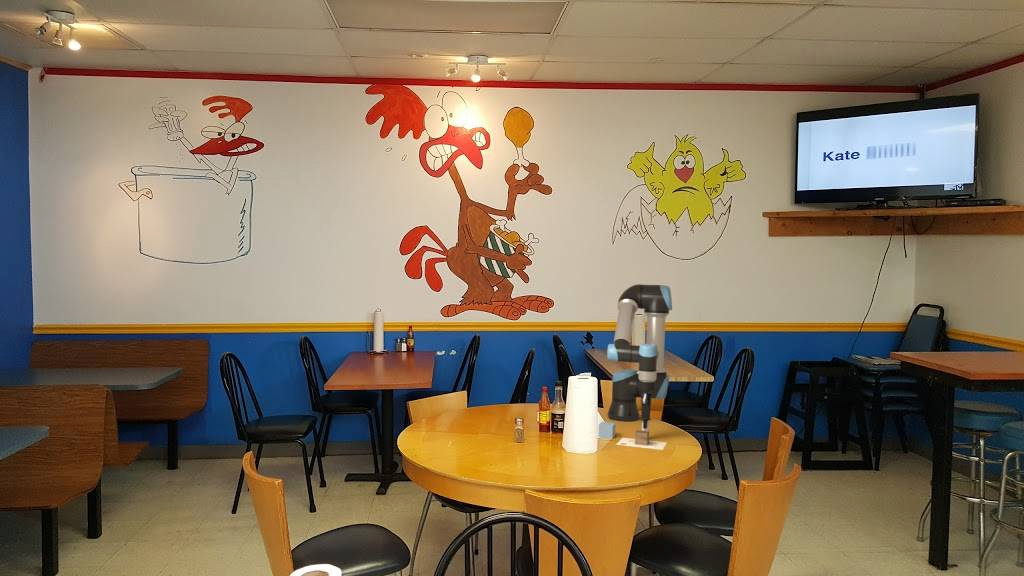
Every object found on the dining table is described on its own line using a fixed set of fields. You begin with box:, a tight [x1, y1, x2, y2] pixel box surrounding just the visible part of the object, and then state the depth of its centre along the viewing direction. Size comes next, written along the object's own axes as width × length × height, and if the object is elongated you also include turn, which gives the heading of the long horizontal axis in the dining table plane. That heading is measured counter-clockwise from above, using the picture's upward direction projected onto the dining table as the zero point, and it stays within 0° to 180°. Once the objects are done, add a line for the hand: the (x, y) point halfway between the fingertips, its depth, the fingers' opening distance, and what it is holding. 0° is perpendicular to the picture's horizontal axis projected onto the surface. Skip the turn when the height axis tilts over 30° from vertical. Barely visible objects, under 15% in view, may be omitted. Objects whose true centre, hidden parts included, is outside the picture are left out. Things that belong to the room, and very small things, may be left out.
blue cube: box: [598, 421, 616, 440], centre depth 326 cm, size 6×6×6 cm
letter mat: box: [616, 437, 667, 451], centre depth 316 cm, size 16×22×1 cm
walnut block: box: [634, 429, 650, 446], centre depth 315 cm, size 5×5×5 cm
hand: (645, 435), depth 322 cm, fingers closed
